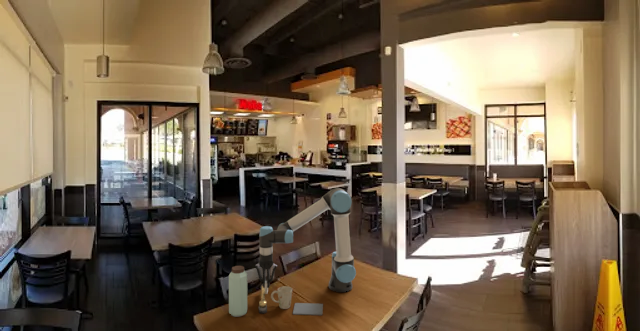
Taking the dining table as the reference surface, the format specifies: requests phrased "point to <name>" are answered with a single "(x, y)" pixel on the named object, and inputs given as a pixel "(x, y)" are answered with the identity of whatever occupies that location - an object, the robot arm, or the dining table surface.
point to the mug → (283, 296)
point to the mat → (308, 309)
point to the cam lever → (263, 298)
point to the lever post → (263, 310)
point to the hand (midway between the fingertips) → (266, 292)
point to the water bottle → (238, 291)
